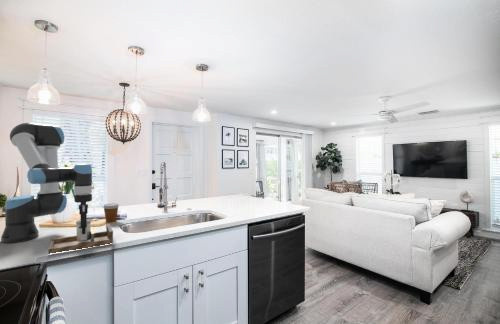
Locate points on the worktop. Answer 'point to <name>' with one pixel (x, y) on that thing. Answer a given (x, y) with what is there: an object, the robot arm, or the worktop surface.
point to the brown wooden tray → (72, 243)
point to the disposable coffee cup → (111, 212)
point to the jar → (87, 230)
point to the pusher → (92, 234)
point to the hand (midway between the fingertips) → (83, 238)
